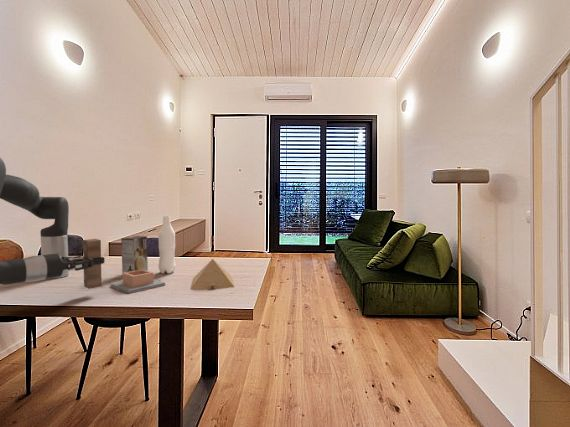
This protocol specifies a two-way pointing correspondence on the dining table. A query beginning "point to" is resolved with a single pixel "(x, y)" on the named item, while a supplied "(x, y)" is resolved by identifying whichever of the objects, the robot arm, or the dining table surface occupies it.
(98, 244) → the walnut slat
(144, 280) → the end cap socket
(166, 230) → the water bottle
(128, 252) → the coffee box
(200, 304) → the dining table surface
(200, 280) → the model pyramid
